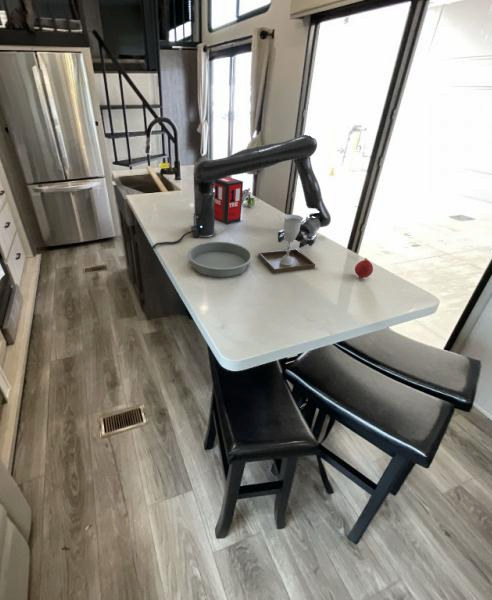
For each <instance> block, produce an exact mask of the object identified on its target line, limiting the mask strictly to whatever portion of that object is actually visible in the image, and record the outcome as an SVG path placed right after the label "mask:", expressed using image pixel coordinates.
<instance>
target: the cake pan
mask: <svg viewBox="0 0 492 600" xmlns="http://www.w3.org/2000/svg"><path fill="white" fill-rule="evenodd" d="M187 256H188V257H187V258H188V259H189V260H190V262H191V264H192V267H193V269H194V270H195V271H197V272H198V273H200V274H202V275H205V276H208V277H213V278H214V277H215V278H228V277H234V276H237V275H240V274H241V273H243V272H245V271H246V269H247V267H248V264H250V262H251V261H252V259H253V254H252V252H251V251H250V250H249V249H248V248H247V247H245V246H243V245H241V244H238V243H234V242H229V241H228V242H227V241H208V242H203V243H200V244H199V243H198V244H197V245H195V246H193V247H191V248H190V250H189V251H188V253H187Z"/></svg>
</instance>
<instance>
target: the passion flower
mask: <svg viewBox="0 0 492 600" xmlns="http://www.w3.org/2000/svg"><path fill="white" fill-rule="evenodd" d="M251 195H252V191H251V187H248V188H247V189H243V190H242V204H243V203H244V202H246V203H247V208H249V209H250V208H251V207H254V205H255V203H256V201H259V196H256V197H255V196H254V197H251ZM255 198H256V200H255Z"/></svg>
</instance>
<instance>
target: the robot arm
mask: <svg viewBox="0 0 492 600" xmlns="http://www.w3.org/2000/svg"><path fill="white" fill-rule="evenodd" d="M317 148H318V142H317V140H316V138H315V137H314V136H313V135H312V134H305V133H304V134H300V135H299V136H297V137H294V138H291V139H289V140H288V139H287V140H285V141H280V142H275V143H274V142H273V143H266V144H261V145H256V146H252V147H247V148H245V149H242V150H239V151H237V152H234V153H233V154H231V155H229V156H225V157H222V158H216V159H211V158H208V157H205V156H204V157H203V156H202V157H199V158H198V159H197V160H196V161H195V163H194V165H193V193H194V194H193V197H194V198H193V199H194V200H193V201H194V212H193V213H192V214H193V217H192V218H193V225H191V226H190V230H189V231H187V232H185V233H184V234H182V236H181V237H180V238H178V239H177V240H175V241H161V242H156V243H155V244H153V246H152V247H151V250H154V249H155V248H156V247H157V246H159V245H175V244H178V243H180V242H181V241H182V240H183V239H184V238H185V237H186V236H187V235H190V234H191V233H192V235H193V237H195V238H203V239H205V238H213V237H214V236H215V220H216V219H215V180H218V179H221V178H224V177H231V176H235V175H241V174H247V173H253V172H256V171H260V170H264V169H267V168H269V167H272V166H275V165H278V164H280V163H283V162H286V161H293V162H294V166H295V169H296V170H297V173H298V177H299V179H300V184H301V188H302V193H303V196H304V200H305V205H306V208H307V209H312V210H313V209H315V210H317V211H316V212H311V213H308V214H307V215H306V216H305V219H303V220H302V221H301V225H300V231H299V233H298V235H297V237H296V238H295V240H294V241H296V242H299V244H298V248H300V249H302V248H304V247H305V246H307V245H308V246H309V247H312V246H313V245H315V243H316V242H317V241H316V240H317V235H316V233H317V232H318V231H319V230H320V228H325V227H328V226H329V225H330V224H331V221H332V217H331V214H330V212H329V210H328V208H327V207H326V205H325V202H324V200H323V195H322V189H321V187H320V183H319V181H318V179H317V177H316V174H315V172H314V170H313V166H312V161H311V157H312V156H313V155H314V154H315V152H316V151H317ZM283 229H284V228H282V229H281V230H279V231H278V232H277V242H278V243H282V242H283V241H284V240H285V241H286V238H285V235H284V230H283Z"/></svg>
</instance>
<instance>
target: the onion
mask: <svg viewBox="0 0 492 600" xmlns="http://www.w3.org/2000/svg"><path fill="white" fill-rule="evenodd" d="M354 271H355V275H357V277H358V278H359V279H361V280H362V279H366V278H368V277H370V276H371V275H372V274H373V272H374V266H373V264H372V263H371V261H370V260H369V259H368V258H367V257H365V258H364V259H363V260H360V261H359V262H357V264H356V265H355V267H354Z"/></svg>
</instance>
